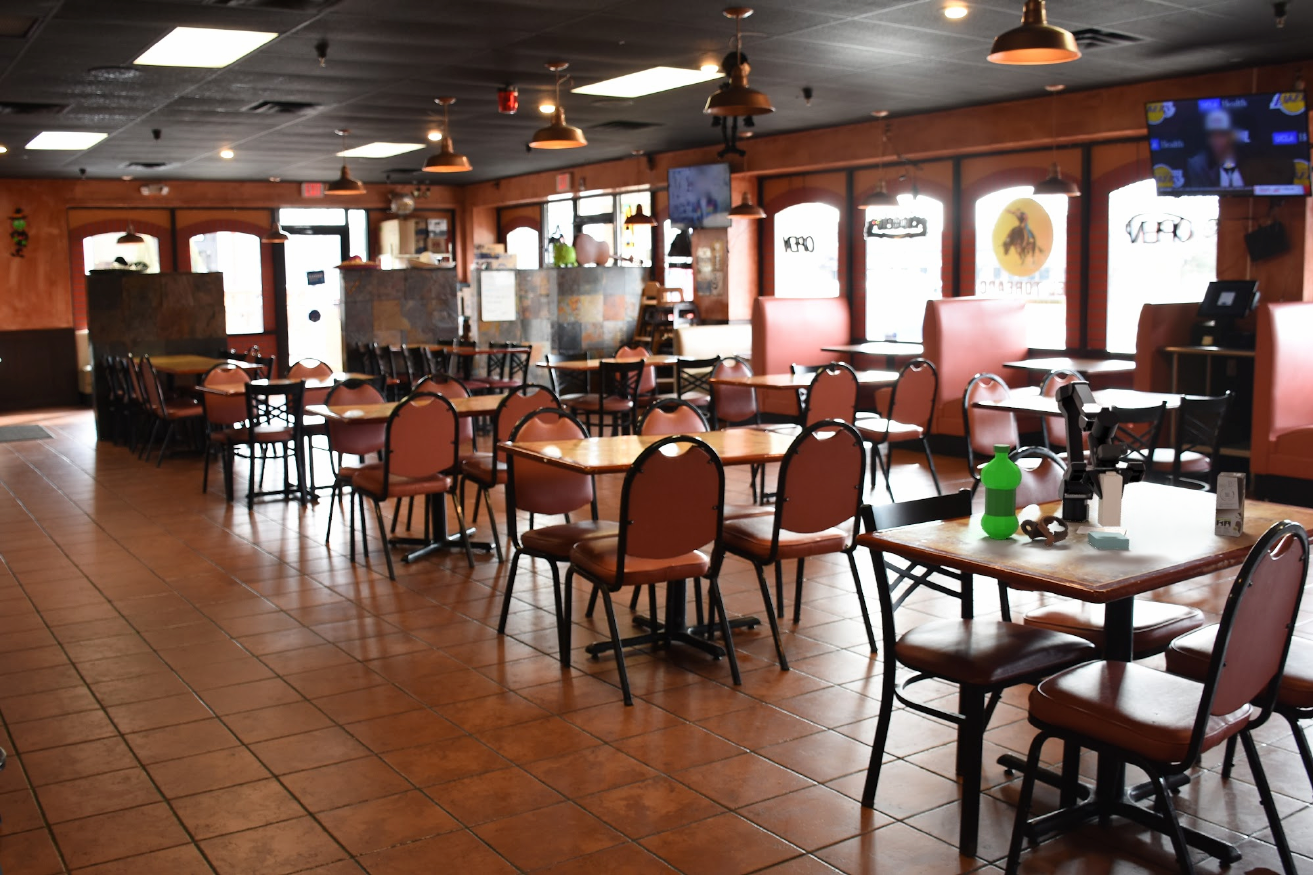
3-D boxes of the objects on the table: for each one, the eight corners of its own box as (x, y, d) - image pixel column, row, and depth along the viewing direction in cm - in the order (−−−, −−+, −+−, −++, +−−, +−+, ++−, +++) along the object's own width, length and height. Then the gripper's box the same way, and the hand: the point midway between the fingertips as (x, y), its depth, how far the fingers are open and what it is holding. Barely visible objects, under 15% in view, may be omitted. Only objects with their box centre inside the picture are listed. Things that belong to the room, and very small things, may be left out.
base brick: (1088, 543, 312) (1088, 532, 312) (1119, 543, 312) (1119, 532, 311) (1096, 550, 304) (1097, 538, 304) (1128, 550, 304) (1129, 539, 303)
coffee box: (1240, 537, 316) (1243, 477, 314) (1213, 534, 319) (1216, 475, 317) (1244, 531, 323) (1247, 472, 321) (1218, 528, 327) (1221, 471, 325)
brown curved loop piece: (1060, 540, 317) (1071, 517, 312) (1061, 562, 310) (1071, 539, 305) (1016, 528, 319) (1025, 504, 314) (1015, 550, 311) (1025, 526, 306)
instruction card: (1076, 533, 323) (1076, 532, 323) (1079, 527, 331) (1080, 525, 331) (1123, 537, 318) (1123, 535, 318) (1126, 530, 326) (1126, 529, 326)
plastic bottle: (1019, 542, 313) (1021, 448, 310) (978, 539, 316) (980, 447, 313) (1020, 534, 322) (1022, 443, 319) (980, 532, 326) (982, 442, 323)
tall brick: (1097, 522, 310) (1099, 470, 308) (1115, 523, 309) (1117, 470, 307) (1102, 526, 305) (1104, 473, 303) (1120, 526, 305) (1122, 473, 303)
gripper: (1071, 431, 309) (1080, 480, 299) (1145, 431, 307) (1157, 480, 298) (1062, 457, 318) (1071, 505, 308) (1134, 457, 316) (1145, 505, 307)
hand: (1111, 498), depth 305 cm, fingers closed on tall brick, 4 cm apart
